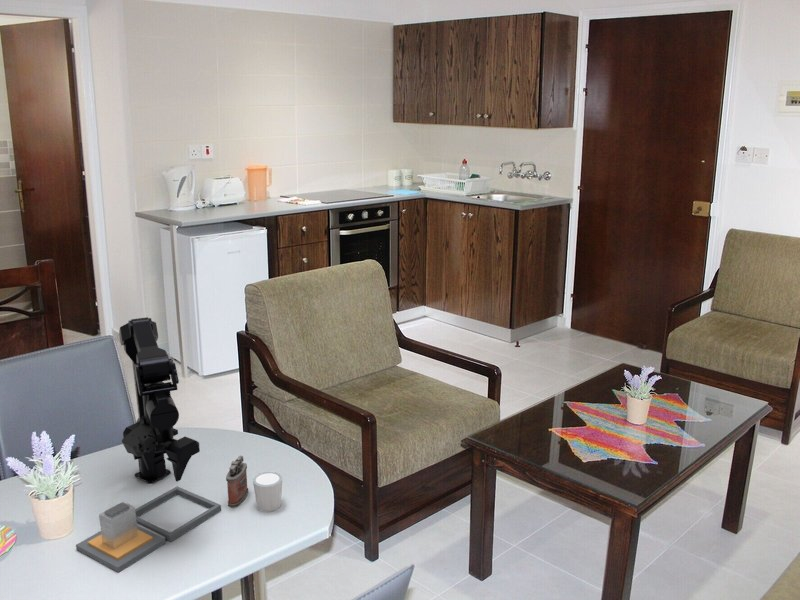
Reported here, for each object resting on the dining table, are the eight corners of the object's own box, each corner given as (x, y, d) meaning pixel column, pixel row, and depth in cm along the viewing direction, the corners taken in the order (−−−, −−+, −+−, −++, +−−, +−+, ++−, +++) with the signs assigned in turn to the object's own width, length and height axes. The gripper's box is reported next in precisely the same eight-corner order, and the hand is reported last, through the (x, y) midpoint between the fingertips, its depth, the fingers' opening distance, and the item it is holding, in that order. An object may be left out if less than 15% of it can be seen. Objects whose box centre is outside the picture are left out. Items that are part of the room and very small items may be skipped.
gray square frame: (125, 520, 174) (125, 514, 173) (177, 491, 186) (177, 486, 185) (170, 542, 166) (169, 536, 165) (221, 510, 178) (220, 504, 177)
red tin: (238, 508, 179) (235, 470, 176) (224, 506, 179) (222, 468, 177) (251, 490, 186) (249, 453, 184) (238, 489, 187) (236, 452, 184)
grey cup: (258, 515, 176) (256, 488, 174) (251, 500, 182) (249, 474, 180) (286, 509, 179) (285, 482, 177) (279, 494, 185) (278, 469, 183)
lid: (76, 549, 163) (75, 542, 163) (127, 521, 174) (126, 514, 173) (118, 572, 156) (117, 565, 155) (168, 541, 166) (168, 534, 166)
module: (102, 543, 162) (98, 512, 160) (126, 529, 167) (122, 499, 165) (114, 549, 160) (110, 518, 158) (138, 535, 165) (134, 505, 163)
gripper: (98, 413, 164) (106, 478, 168) (156, 435, 154) (163, 503, 158) (141, 396, 173) (147, 458, 177) (198, 415, 163) (203, 481, 167)
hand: (164, 474), depth 170 cm, fingers open, 9 cm apart
